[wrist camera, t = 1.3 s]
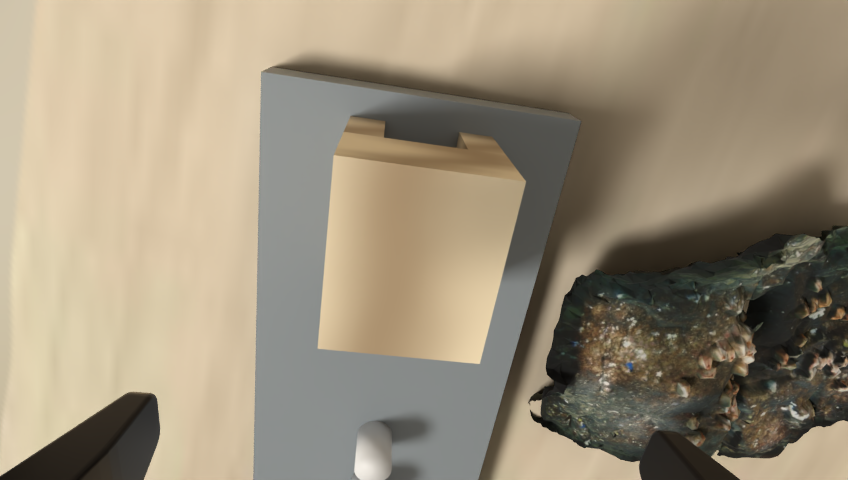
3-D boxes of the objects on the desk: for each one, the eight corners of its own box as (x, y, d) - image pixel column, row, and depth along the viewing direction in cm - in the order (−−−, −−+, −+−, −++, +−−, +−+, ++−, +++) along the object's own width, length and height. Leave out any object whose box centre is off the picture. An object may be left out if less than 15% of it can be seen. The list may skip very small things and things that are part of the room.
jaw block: (492, 136, 17) (526, 181, 13) (460, 283, 20) (479, 363, 15) (350, 115, 17) (333, 155, 12) (335, 269, 19) (317, 348, 15)
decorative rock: (1106, 223, 18) (946, 527, 23) (926, 182, 23) (831, 433, 29) (604, 241, 16) (555, 572, 21) (539, 190, 21) (513, 461, 27)
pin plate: (568, 113, 19) (603, 133, 16) (463, 493, 27) (472, 557, 24) (271, 67, 18) (244, 79, 14) (260, 480, 26) (241, 545, 23)
